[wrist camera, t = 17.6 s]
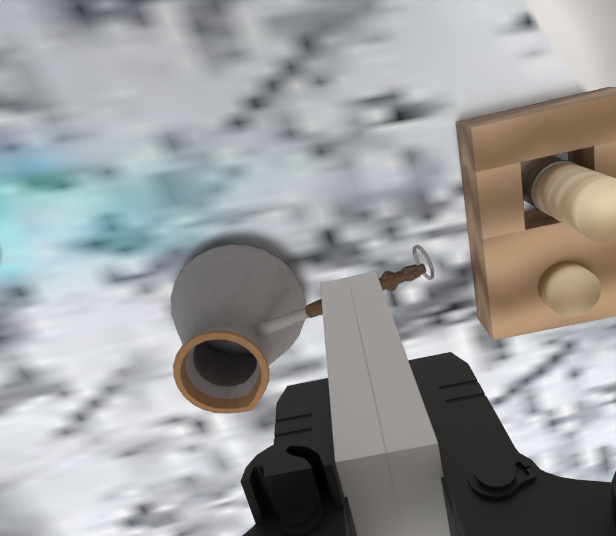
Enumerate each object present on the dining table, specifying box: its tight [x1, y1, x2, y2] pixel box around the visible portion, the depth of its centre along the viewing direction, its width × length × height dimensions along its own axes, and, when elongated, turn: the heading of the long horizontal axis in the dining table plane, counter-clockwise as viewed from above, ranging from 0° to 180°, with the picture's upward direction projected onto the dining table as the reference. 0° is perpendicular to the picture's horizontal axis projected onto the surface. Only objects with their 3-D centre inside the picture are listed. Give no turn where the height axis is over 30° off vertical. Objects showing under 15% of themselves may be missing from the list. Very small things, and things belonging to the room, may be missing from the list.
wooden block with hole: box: [456, 87, 616, 340], centre depth 40 cm, size 18×12×6 cm, turn 13°
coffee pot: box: [171, 244, 434, 413], centre depth 38 cm, size 21×12×15 cm, turn 124°
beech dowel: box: [520, 156, 616, 243], centre depth 37 cm, size 4×4×11 cm
